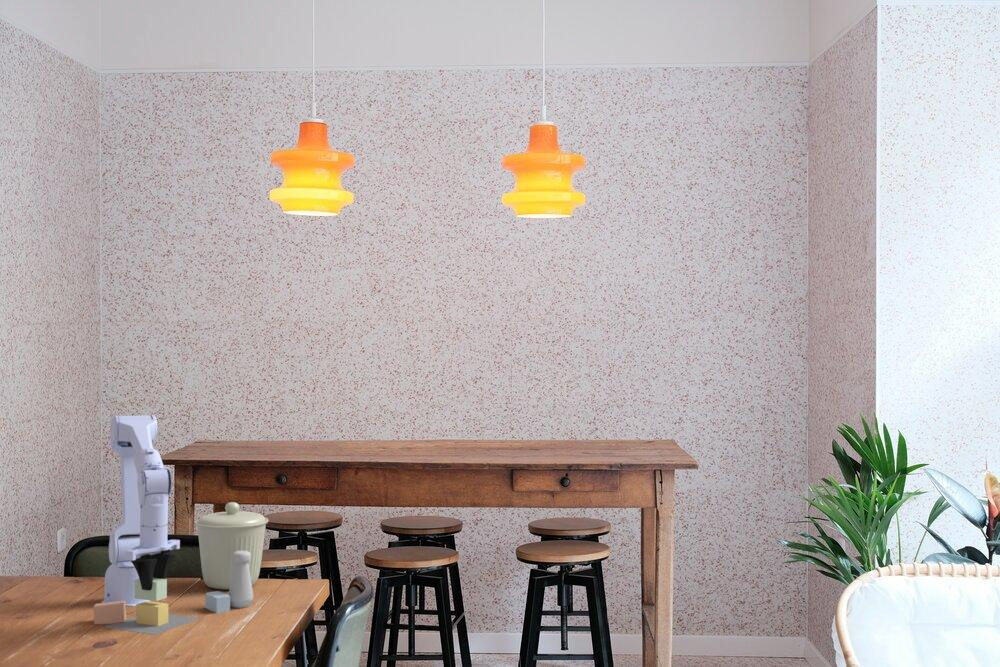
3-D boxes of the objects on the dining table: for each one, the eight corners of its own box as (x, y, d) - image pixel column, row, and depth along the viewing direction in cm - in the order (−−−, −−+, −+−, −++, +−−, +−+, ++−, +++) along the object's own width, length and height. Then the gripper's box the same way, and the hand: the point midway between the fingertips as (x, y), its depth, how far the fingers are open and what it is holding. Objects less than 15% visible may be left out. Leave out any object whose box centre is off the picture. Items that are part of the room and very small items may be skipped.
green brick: (134, 598, 215) (134, 580, 216) (145, 595, 218) (145, 577, 218) (156, 601, 213) (156, 582, 213) (166, 597, 216) (166, 579, 216)
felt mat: (103, 629, 212) (103, 626, 212) (149, 613, 225) (149, 611, 225) (154, 637, 206) (154, 634, 206) (199, 620, 219) (199, 618, 219)
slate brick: (205, 610, 228) (205, 593, 228) (218, 608, 230) (218, 591, 231) (216, 616, 224) (216, 598, 224) (229, 613, 226) (230, 596, 226)
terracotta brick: (94, 625, 214) (93, 606, 214) (96, 622, 217) (95, 603, 217) (124, 621, 215) (123, 603, 216) (126, 618, 218) (124, 600, 219)
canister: (229, 597, 240) (230, 510, 241) (178, 587, 250) (179, 503, 250) (282, 583, 255) (283, 501, 256) (232, 574, 265) (234, 495, 265)
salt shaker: (246, 611, 227) (247, 554, 228) (223, 610, 228) (224, 553, 229) (257, 605, 233) (258, 549, 233) (234, 603, 234) (235, 548, 234)
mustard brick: (136, 622, 215) (136, 604, 215) (146, 619, 218) (147, 600, 218) (157, 626, 213) (158, 607, 213) (168, 622, 216) (168, 603, 216)
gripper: (144, 531, 208) (143, 597, 207) (191, 521, 221) (190, 582, 221) (118, 529, 210) (117, 593, 210) (166, 518, 224) (165, 579, 223)
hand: (152, 587), depth 216 cm, fingers closed on green brick, 3 cm apart
